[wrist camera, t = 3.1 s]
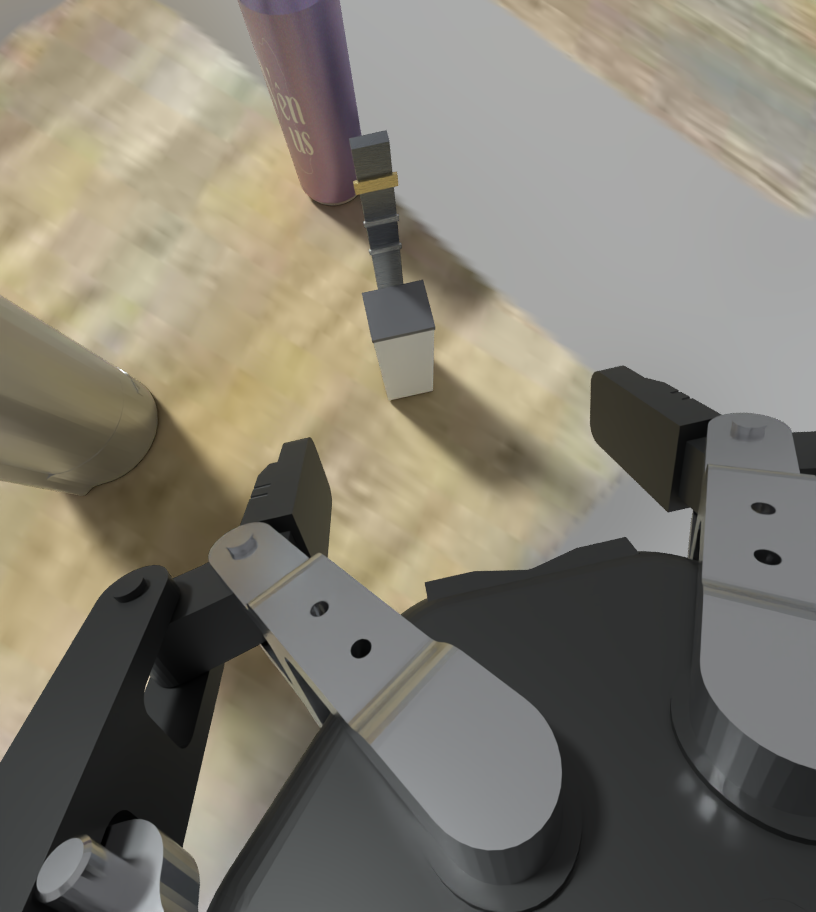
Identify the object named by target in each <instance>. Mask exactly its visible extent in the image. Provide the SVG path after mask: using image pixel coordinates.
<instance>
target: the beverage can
mask: <svg viewBox="0 0 816 912" xmlns="http://www.w3.org/2000/svg"><path fill="white" fill-rule="evenodd" d="M238 3H239V6H240V9H241V12H242V14H243V17H244V20H245V23H246V26H247V29H248V32H249V35H250V37H251V40H252V44H253V47H254V49H255V52H256V55H257V58H258V61H259V64H260V67H261V70H262V73H263V76H264V79H265V81H266V84H267V87H268V90H269V93H270V96H271V99H272V102H273V105H274V108H275V111H276V114H277V116H278V119H279V122H280V125H281V128H282V131H283V134H284V137H285V140H286V143H287V146H288V148H289V151H290V154H291V157H292V160H293V163H294V166H295V169H296V172H297V175H298V178H299V181H300V183H301V186H302V188H303V190H304V192H305V193H306V194H307V195H308V196H309V197H311V198H312V199H313V200H315V201H317V202H319V203H321V204H324V205H331V206H334V205H341V204H344V203H347V202H349V201H351V200H352V199H354V198H355V197H356V196H357V195H356V194H355V189H354V184H353V181H356V180H357V178H356V173H355V168H354V162H353V157H352V152H351V147H350V142H349V138H353V137H358V136H361V130H360V123H359V117H358V111H357V106H356V99H355V93H354V87H353V80H352V74H351V68H350V62H349V55H348V49H347V43H346V37H345V31H344V25H343V18H342V12H341V6H340V0H238Z"/></svg>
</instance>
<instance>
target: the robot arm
mask: <svg viewBox="0 0 816 912" xmlns="http://www.w3.org/2000/svg"><path fill="white" fill-rule="evenodd" d="M157 424H158V416H157V408H156V404H155V400H154V399H153V397H152V395H151V393H150V391H149V390H148V389H147V388H146V387H145V386H144V385H143V384H142V383H141V382H139V381H138V380H136V379H134V378H133V377H131V376H130V375H129V374H127V373H126V372H125V371H123V370H121V369H120V368H118V367H116V366H114V365H112V364H111V363H109V362H107V361H106V360H104V359H103V358H101V357H100V356H98V355H96V354H95V353H93V352H92V351H90V350H88V349H87V348H85V347H83V346H82V345H80V344H79V343H77V342H75V341H74V340H72V339H71V338H69V337H67V336H66V335H64V334H63V333H61V332H59V331H58V330H56V329H54V328H53V327H51V326H50V325H48V324H46V323H45V322H43V321H42V320H40V319H38V318H37V317H35V316H34V315H32V314H30V313H29V312H27V311H25V310H24V309H22V308H21V307H19V306H17V305H16V304H14V303H13V302H11V301H9V300H8V299H6V298H5V297H3V296H1V295H0V481H5V482H11V483H16V484H21V485H26V486H32V487H37V488H42V489H48V490H53V491H58V492H63V493H69V494H74V495H79V496H84V495H86V494H87V493H88V491H89V490H90V489H92V488H93V487H94V486H96V485H99V484H103V483H107V482H110V481H113V480H115V479H117V478H119V477H121V476H123V475H125V474H126V473H127V472H129V471H130V470H131V469H133V468H134V467H135V466H136V465H137V464H138V463H139V462H140V461H141V460H142V459H143V458H144V456H145V454H146V453H147V451H148V450H149V448H150V447H151V444H152V442H153V440H154V437H155V434H156V429H157ZM590 427H591V432H592V435H593V437H594V439H595V441H596V443H597V444H598V445H599V446H600V447H601V448H602V449H603V450H604V451H605V452H606V453H607V454H608V455H609V456H610V457H611V458H613V459H614V460H615V461H616V462H617V463H618V464H619V465H620V466H621V467H622V468H623V469H624V470H625V471H626V472H627V473H628V474H629V475H630V476H631V477H632V478H633V479H634V480H635V481H636V482H637V483H638V484H639V485H640V486H641V487H642V488H643V489H645V491H647V493H648V494H650V495H651V496H652V497H653V498H654V499H655V500H656V501H657V502H658V503H659V504H660V505H661V506H662V507H663V508H664V509H665V510H666V511H667V512H672V511H676V510H681V509H685V508H692V509H693V513H692V518H691V527H690V536H689V547H688V557H687V558H686V557H682V556H677V555H673V554H667V553H660V552H646V551H637V550H636V549H635V548H634V546H633V545H632V544H631V543H630V542H629V540H628V539H627V538H626V537H623V538H619V539H615V540H610V541H606V542H602V543H597V544H593V545H589V546H584V547H579V548H576V549H574V550H572V551H569V552H567V553H565V554H563V555H561V556H558V557H556V558H554V559H552V560H550V561H548V562H546V563H544V564H541V565H539V566H537V567H535V568H532V569H529V570H508V571H473V572H469V573H464V574H460V575H455V576H451V577H447V578H442V579H438V580H433V581H429V582H425V587H426V592H427V599H424V600H422V601H420V602H419V603H417V604H415V605H414V606H412V607H410V608H409V609H407V610H406V611H405V612H403V613H402V614H401V615H400V614H399V613H397V612H396V611H395V610H394V609H392V608H391V607H390V606H389V605H387V604H386V603H385V602H383V601H382V600H381V599H380V598H378V597H377V596H376V595H374V594H373V593H372V592H371V591H369V590H368V589H367V588H366V587H364V586H363V585H362V584H360V583H359V582H358V581H357V580H355V579H354V578H353V577H351V576H350V575H349V574H348V573H346V572H345V571H344V570H342V569H341V568H340V567H339V566H337V565H336V564H335V563H334V562H332V561H331V560H330V559H328V546H329V534H330V522H331V510H332V496H331V491H330V486H329V483H328V480H327V477H326V475H325V472H324V469H323V466H322V464H321V461H320V458H319V455H318V453H317V450H316V447H315V445H314V442H313V440H312V439H311V438H310V437H309V438H304V439H300V440H296V441H291V442H287V443H284V444H283V446H282V449H281V453H280V456H279V459H278V462H276V463H271V464H269V465H268V466H267V467H266V468H265V469H264V470H263V471H262V472H261V473H260V474H259V475H258V478H257V481H256V483H255V486H254V489H253V491H252V494H251V499H250V500H249V502H248V505H247V508H246V510H245V513H244V516H243V519H242V521H241V524H240V526H239V527H237V528H234V529H233V530H231V531H229V532H228V533H226V534H225V535H223V536H222V537H221V538H220V539H219V540H218V541H217V542H216V543H215V544H214V545H213V546H212V548H211V550H210V552H209V556H208V559H209V562H208V563H206V564H204V565H202V566H200V567H198V568H195V569H193V570H191V571H189V572H186V573H184V574H182V575H180V576H177V577H175V578H172V577H171V575H170V574H169V573H168V571H167V570H166V568H164V567H162V566H159V565H152V566H146V567H142V568H139V569H137V570H134V571H132V572H130V573H128V574H126V575H125V576H123V577H121V578H120V579H118V580H117V581H116V582H114V583H113V584H112V585H111V586H109V587H108V588H107V589H106V590H105V591H104V592H103V593H102V595H101V596H100V597H99V599H98V600H97V602H96V603H95V605H94V607H93V608H92V610H91V612H90V613H89V615H88V617H87V618H86V620H85V622H84V623H83V625H82V627H81V628H80V630H79V632H78V633H77V635H76V637H75V638H74V640H73V642H72V644H71V645H70V647H69V649H68V650H67V652H66V654H65V655H64V657H63V659H62V660H61V662H60V664H59V665H58V667H57V669H56V670H55V672H54V674H53V675H52V677H51V679H50V680H49V682H48V684H47V685H46V687H45V689H44V690H43V692H42V694H41V695H40V697H39V699H38V700H37V702H36V704H35V705H34V707H33V709H32V710H31V712H30V714H29V715H28V717H27V719H26V720H25V722H24V724H23V725H22V727H21V729H20V731H19V732H18V734H17V736H16V737H15V739H14V741H13V742H12V744H11V746H10V747H9V749H8V751H7V752H6V754H5V756H4V757H3V759H2V761H1V762H0V912H198V902H199V889H200V878H199V871H198V867H197V864H196V862H195V860H194V858H193V857H192V856H191V855H190V854H189V853H188V852H187V851H186V850H184V849H183V843H184V839H185V834H186V830H187V826H188V821H189V817H190V813H191V808H192V804H193V799H194V795H195V791H196V786H197V782H198V778H199V773H200V769H201V764H202V760H203V756H204V751H205V747H206V743H207V738H208V734H209V730H210V725H211V721H212V716H213V712H214V708H215V703H216V699H217V695H218V690H219V686H220V681H221V677H222V673H223V668H224V663H225V662H227V661H229V660H231V659H232V658H234V657H236V656H238V655H240V654H242V653H244V652H246V651H248V650H250V649H252V648H254V647H256V646H258V645H260V646H261V648H262V649H263V650H264V652H265V653H266V654H267V656H268V657H269V658H270V660H271V661H272V662H273V664H274V665H275V666H276V667H277V669H278V670H279V671H280V673H281V674H282V675H283V677H284V678H285V679H286V681H287V682H288V683H289V684H290V686H291V687H292V688H293V690H294V691H295V692H296V694H297V695H298V696H299V698H300V699H301V700H302V702H303V703H304V705H305V706H306V708H307V709H308V711H309V712H310V714H311V715H312V717H313V718H314V720H315V721H316V723H317V724H318V725H319V727H320V730H319V731H318V733H317V735H316V736H315V738H314V739H313V741H312V742H311V744H310V745H309V747H308V748H307V750H306V752H305V753H304V755H303V756H302V758H301V759H300V761H299V762H298V764H297V765H296V767H295V769H294V770H293V772H292V773H291V775H290V776H289V778H288V779H287V781H286V782H285V784H284V786H283V787H282V789H281V790H280V792H279V793H278V795H277V796H276V798H275V799H274V801H273V803H272V804H271V806H270V807H269V809H268V810H267V812H266V813H265V815H264V816H263V818H262V820H261V821H260V823H259V824H258V826H257V827H256V829H255V830H254V832H253V833H252V835H251V837H250V838H249V840H248V841H247V843H246V844H245V846H244V847H243V849H242V850H241V852H240V854H239V855H238V857H237V858H236V860H235V861H234V863H233V864H232V866H231V867H230V869H229V871H228V872H227V874H226V876H225V877H224V879H223V881H222V882H221V884H220V886H219V888H218V889H217V891H216V893H215V895H214V897H213V899H212V901H211V903H210V905H209V908H208V910H207V912H816V431H814V432H794V433H792V431H791V429H790V427H789V426H788V425H786V424H785V423H784V422H781V421H780V420H778V419H775V418H772V417H769V416H765V415H760V414H753V413H730V414H724V415H721V414H719V413H718V412H716V411H714V410H712V409H711V408H709V407H707V406H705V405H703V404H702V403H700V402H698V401H696V400H695V399H693V398H692V399H690V397H689V396H687V395H686V394H684V393H682V392H678V390H677V389H675V388H673V387H671V386H670V385H668V384H666V383H664V382H660V381H656V380H652V379H648V378H644V377H643V376H641V375H639V374H637V373H636V372H634V371H632V370H631V369H629V368H627V367H626V366H619V367H614V368H610V369H606V370H601V371H597V372H594V374H593V375H592V378H591V403H590ZM149 675H150V679H149V682H148V685H147V687H146V690H145V686H146V683H147V680H148V678H149ZM144 690H145V692H144Z"/></svg>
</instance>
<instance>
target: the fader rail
mask: <svg viewBox="0 0 816 912" xmlns="http://www.w3.org/2000/svg"><path fill="white" fill-rule="evenodd" d="M349 142H350V147H351V152H352V157H353V162H354V168H355V173H356V178H357V180H356V181H353V184H354V189H355V194H356V195H359V194H360V199H361V204H362V209H363V214H364V219H365V221H363V223H364V228H366V230H367V235H368V240H369V245H370V250H369V254H370V255H371V256H372V261H373V266H374V271H375V277H376V282H377V287H378V289H383V288H387V287H392V286H396V285H401V284H403V276H402V266H401V256H400V249H401V248H402V245H401V243H399V235H398V225H397V221H399V214H396V205H395V194H394V187H395V186H398V176H397V172H392V165H391V154H390V144H389V138H388V135H387V131H381V132H376V133H372V134H367V135H363V136H358V137H353V138H349Z"/></svg>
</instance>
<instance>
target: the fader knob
mask: <svg viewBox="0 0 816 912" xmlns="http://www.w3.org/2000/svg"><path fill="white" fill-rule="evenodd" d="M362 296H363V301H364V305H365V310H366V315H367V319H368V324H369V329H370V333H371V338H372V342H373V343H374V346H375V350H376V354H377V358H378V362H379V366H380V369H381V373H382V377H383V381H384V385H385V389H386V393H387V396H388V400H393V399H398V398H402V397H407V396H411V395H416V394H420V393H425V392H430V391H433V366H434V330H435V324H434V320H433V316H432V312H431V308H430V305H429V301H428V297H427V293H426V289H425V285H424V281H423V280H419V281H415V282H410V283H406V284H401V285H396V286H392V287H387V288H383V289H378V290H374V291H369V292H365V293H362Z"/></svg>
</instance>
